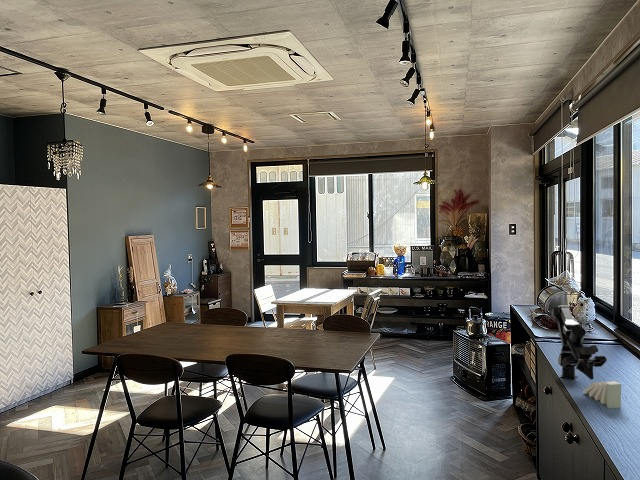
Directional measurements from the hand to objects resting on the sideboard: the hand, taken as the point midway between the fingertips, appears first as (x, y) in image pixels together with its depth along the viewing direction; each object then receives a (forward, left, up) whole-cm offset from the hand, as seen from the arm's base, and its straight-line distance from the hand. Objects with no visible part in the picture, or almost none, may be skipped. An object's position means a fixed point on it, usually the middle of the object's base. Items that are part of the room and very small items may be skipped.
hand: (592, 379), depth 220 cm
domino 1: (-2, -2, -7) cm, 7 cm away
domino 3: (+3, +4, -7) cm, 9 cm away
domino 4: (+6, +8, -7) cm, 12 cm away
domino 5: (+9, +11, -7) cm, 16 cm away
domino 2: (+1, +1, -7) cm, 7 cm away
